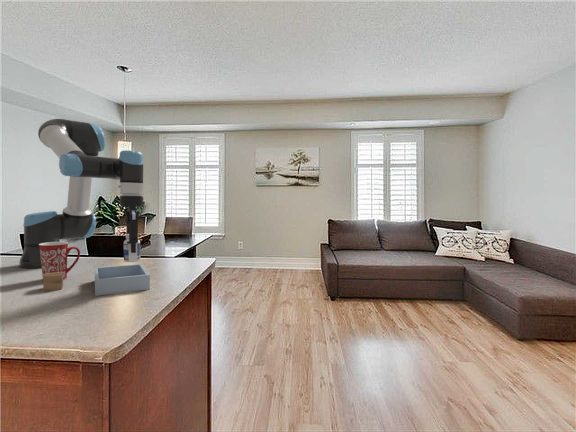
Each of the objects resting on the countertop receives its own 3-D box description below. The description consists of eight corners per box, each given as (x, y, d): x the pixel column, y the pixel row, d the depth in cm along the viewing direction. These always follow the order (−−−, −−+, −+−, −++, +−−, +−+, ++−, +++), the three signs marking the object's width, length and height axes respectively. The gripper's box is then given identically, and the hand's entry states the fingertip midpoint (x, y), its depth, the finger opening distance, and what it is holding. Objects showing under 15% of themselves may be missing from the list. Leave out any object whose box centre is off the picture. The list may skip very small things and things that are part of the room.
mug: (37, 283, 117) (36, 245, 117) (41, 277, 125) (40, 242, 124) (79, 279, 124) (79, 243, 123) (80, 274, 131) (80, 240, 131)
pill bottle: (137, 259, 123) (136, 232, 122) (142, 261, 119) (142, 234, 118) (121, 260, 119) (121, 233, 118) (126, 263, 115) (126, 235, 115)
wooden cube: (45, 287, 113) (45, 273, 112) (63, 286, 115) (62, 271, 115) (43, 291, 108) (43, 276, 108) (62, 289, 111) (61, 274, 111)
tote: (94, 281, 122) (94, 267, 122) (141, 276, 130) (141, 264, 130) (95, 295, 105) (95, 279, 105) (149, 289, 113) (149, 274, 113)
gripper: (118, 195, 124) (118, 256, 125) (122, 195, 108) (122, 266, 109) (139, 195, 128) (140, 255, 129) (146, 195, 112) (147, 264, 113)
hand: (132, 260), depth 119 cm, fingers closed on pill bottle, 5 cm apart
